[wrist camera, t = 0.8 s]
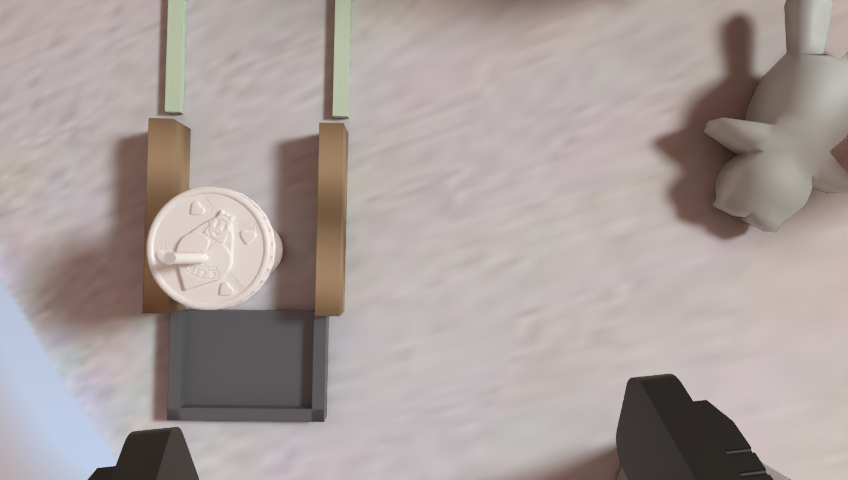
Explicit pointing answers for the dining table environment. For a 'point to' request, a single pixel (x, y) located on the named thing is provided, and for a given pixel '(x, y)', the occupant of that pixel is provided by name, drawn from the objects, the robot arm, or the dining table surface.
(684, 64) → the dining table surface
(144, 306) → the walnut channel
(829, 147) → the bunny figurine
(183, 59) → the frame
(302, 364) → the tray
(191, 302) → the smoothie
